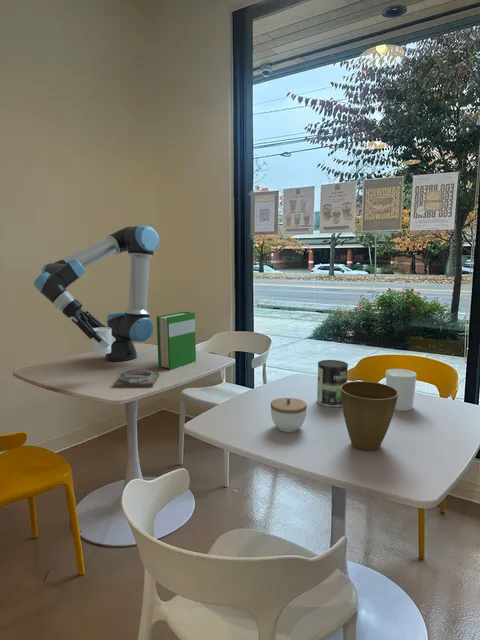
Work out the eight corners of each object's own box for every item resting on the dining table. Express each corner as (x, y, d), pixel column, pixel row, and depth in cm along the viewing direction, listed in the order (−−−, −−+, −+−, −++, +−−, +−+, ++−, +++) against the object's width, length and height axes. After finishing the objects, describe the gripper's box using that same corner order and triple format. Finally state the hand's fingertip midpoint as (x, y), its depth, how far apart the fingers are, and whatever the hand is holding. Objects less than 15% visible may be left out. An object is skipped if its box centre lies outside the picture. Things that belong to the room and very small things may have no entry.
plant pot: (339, 455, 112) (341, 396, 109) (337, 432, 126) (339, 379, 124) (399, 460, 109) (403, 400, 107) (390, 435, 124) (393, 382, 121)
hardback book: (170, 370, 193) (168, 317, 189) (158, 367, 197) (156, 316, 193) (195, 361, 207) (194, 312, 203) (184, 359, 211) (183, 311, 207)
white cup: (115, 350, 179) (114, 327, 177) (107, 355, 171) (106, 330, 170) (97, 350, 180) (96, 326, 178) (89, 355, 172) (87, 330, 171)
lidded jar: (313, 428, 129) (314, 398, 128) (290, 439, 122) (291, 407, 120) (285, 418, 137) (286, 390, 135) (263, 428, 130) (263, 398, 128)
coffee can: (352, 403, 150) (354, 364, 148) (331, 409, 144) (332, 368, 142) (331, 395, 158) (332, 358, 156) (310, 400, 153) (311, 362, 151)
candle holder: (417, 405, 148) (419, 371, 146) (410, 414, 140) (412, 378, 138) (388, 399, 153) (390, 367, 151) (380, 408, 145) (382, 373, 143)
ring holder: (123, 376, 184) (123, 369, 183) (159, 376, 184) (158, 369, 183) (114, 387, 169) (113, 380, 168) (152, 387, 169) (152, 379, 168)
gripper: (72, 308, 183) (111, 345, 186) (51, 315, 163) (96, 356, 165) (84, 295, 182) (123, 333, 185) (64, 301, 162) (109, 343, 164)
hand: (110, 344), depth 175 cm, fingers closed on white cup, 8 cm apart
